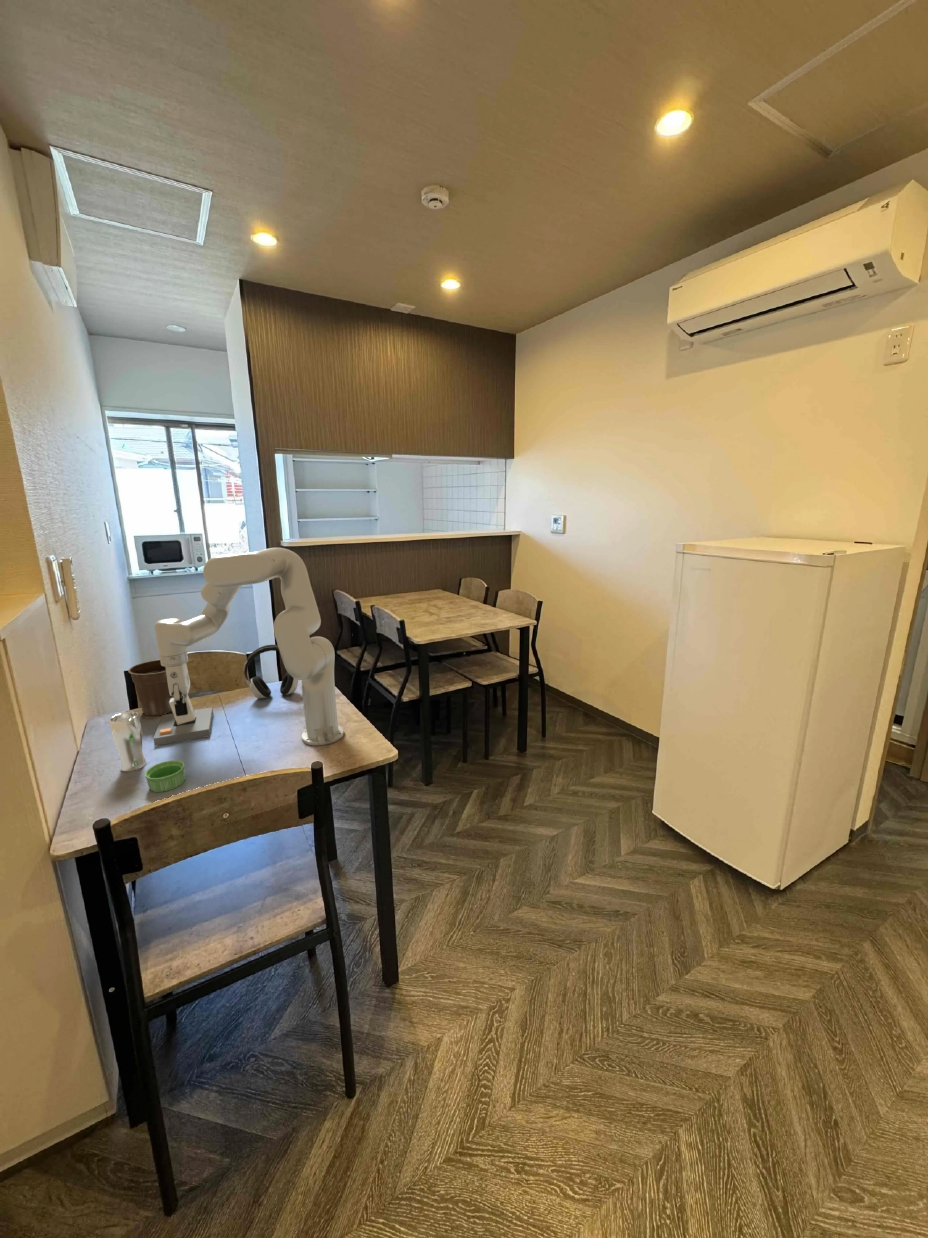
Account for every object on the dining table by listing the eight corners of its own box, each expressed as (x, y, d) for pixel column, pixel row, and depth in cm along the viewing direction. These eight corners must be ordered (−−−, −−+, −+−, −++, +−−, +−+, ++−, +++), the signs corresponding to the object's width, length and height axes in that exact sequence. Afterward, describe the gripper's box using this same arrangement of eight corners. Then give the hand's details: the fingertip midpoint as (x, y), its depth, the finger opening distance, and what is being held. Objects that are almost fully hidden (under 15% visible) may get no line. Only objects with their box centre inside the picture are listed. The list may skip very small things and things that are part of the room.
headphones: (301, 688, 194) (296, 639, 189) (303, 696, 186) (298, 645, 181) (247, 696, 187) (240, 645, 182) (247, 705, 179) (240, 652, 174)
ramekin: (168, 772, 136) (165, 758, 135) (194, 777, 134) (192, 762, 133) (139, 791, 128) (136, 775, 127) (166, 796, 125) (163, 780, 124)
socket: (209, 736, 156) (208, 726, 156) (154, 745, 151) (152, 736, 150) (213, 713, 173) (212, 705, 172) (163, 721, 167) (162, 712, 166)
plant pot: (193, 697, 187) (186, 656, 183) (184, 714, 172) (177, 670, 168) (143, 703, 182) (135, 661, 178) (130, 722, 167) (121, 676, 163)
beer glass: (126, 775, 135) (116, 724, 131) (113, 768, 139) (103, 718, 135) (153, 763, 141) (144, 714, 137) (140, 757, 144) (131, 709, 141)
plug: (194, 719, 160) (184, 693, 158) (177, 725, 159) (167, 698, 156) (195, 715, 164) (186, 689, 161) (179, 720, 162) (168, 694, 159)
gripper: (184, 664, 150) (193, 720, 154) (190, 649, 165) (198, 701, 169) (156, 668, 147) (165, 725, 152) (164, 652, 162) (173, 705, 166)
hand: (182, 712), depth 160 cm, fingers closed on plug, 3 cm apart
